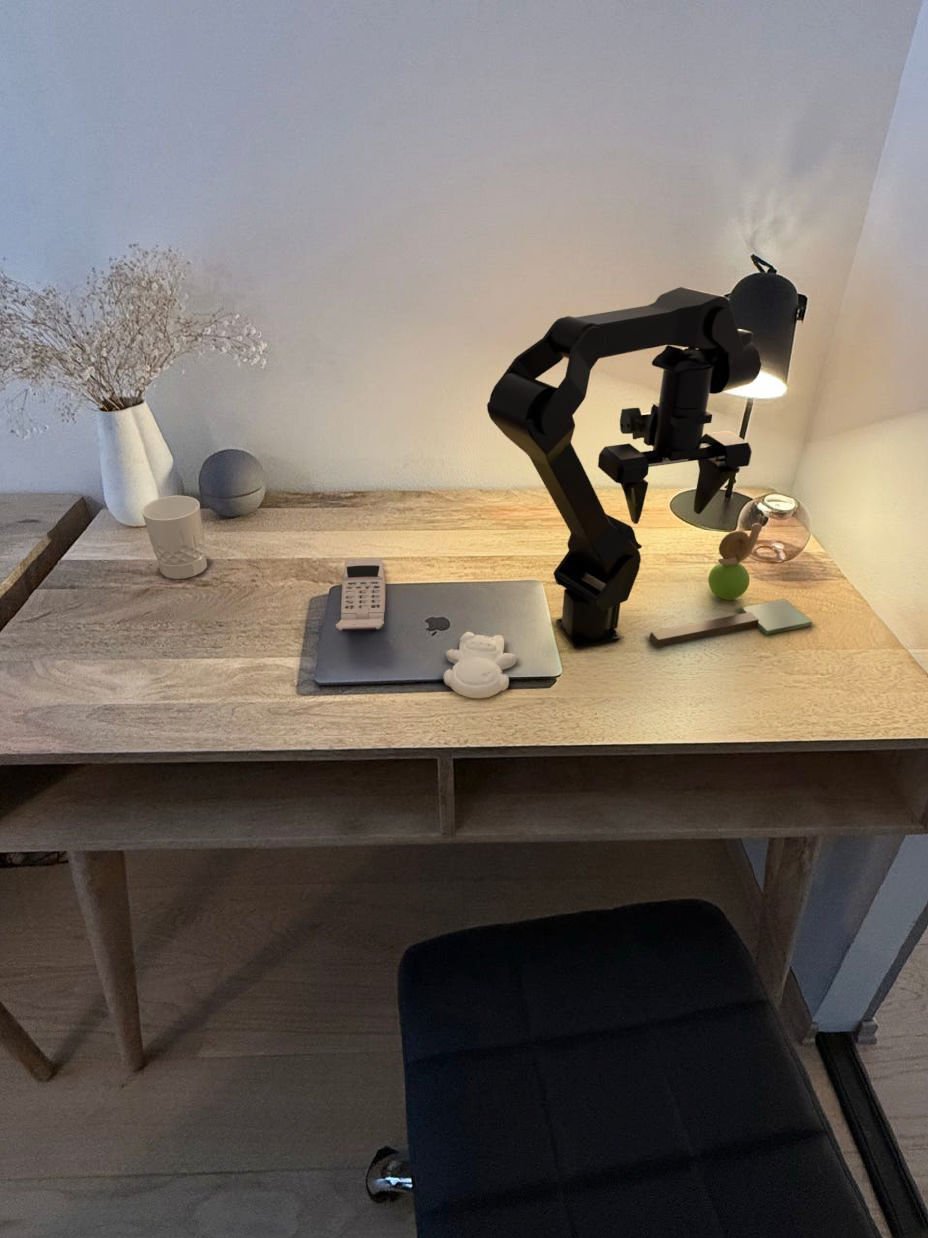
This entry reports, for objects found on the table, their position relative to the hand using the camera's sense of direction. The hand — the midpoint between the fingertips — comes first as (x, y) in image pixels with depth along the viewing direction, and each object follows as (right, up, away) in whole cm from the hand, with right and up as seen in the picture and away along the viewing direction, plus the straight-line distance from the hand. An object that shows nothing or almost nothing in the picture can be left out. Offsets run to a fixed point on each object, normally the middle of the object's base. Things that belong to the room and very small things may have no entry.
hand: (666, 517), depth 108 cm
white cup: (-68, -6, +15) cm, 70 cm away
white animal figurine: (-25, -19, -5) cm, 32 cm away
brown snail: (+11, -10, +8) cm, 17 cm away
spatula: (+8, -15, +2) cm, 17 cm away
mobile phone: (-40, -12, +5) cm, 42 cm away
